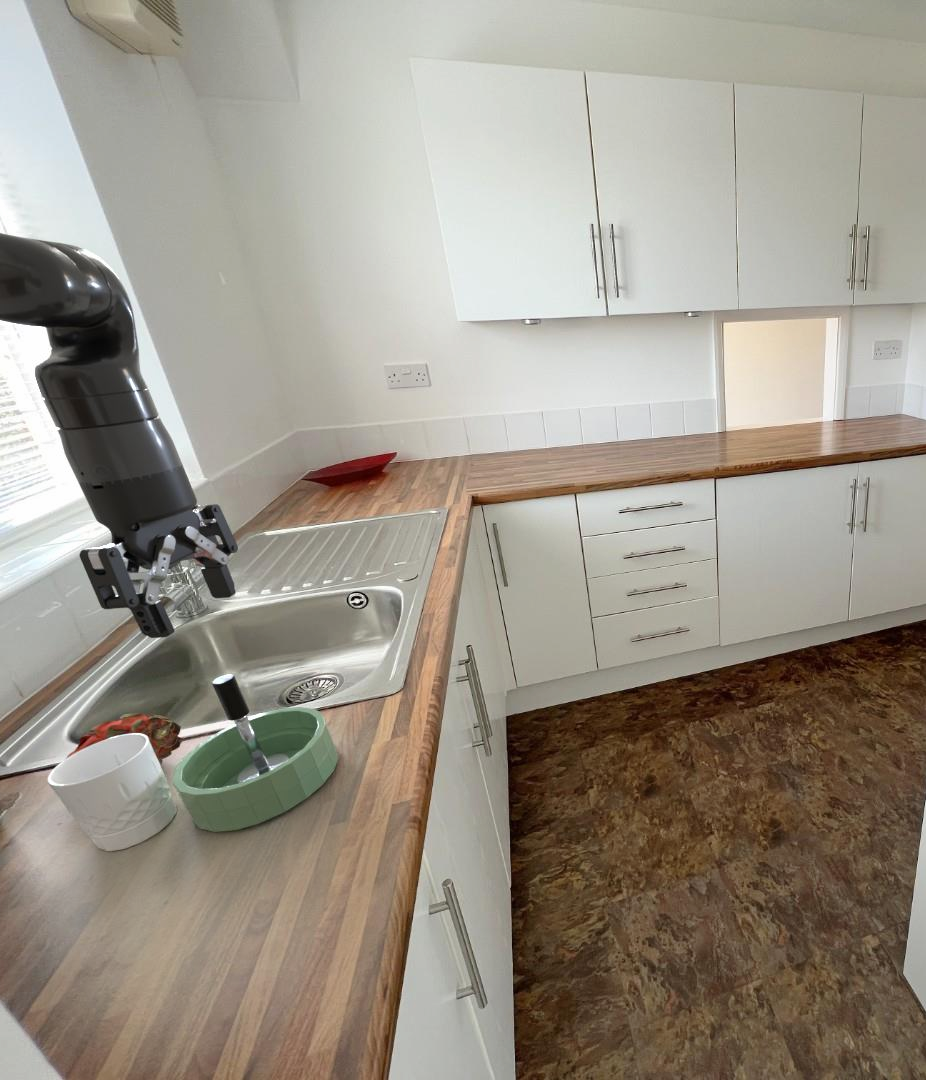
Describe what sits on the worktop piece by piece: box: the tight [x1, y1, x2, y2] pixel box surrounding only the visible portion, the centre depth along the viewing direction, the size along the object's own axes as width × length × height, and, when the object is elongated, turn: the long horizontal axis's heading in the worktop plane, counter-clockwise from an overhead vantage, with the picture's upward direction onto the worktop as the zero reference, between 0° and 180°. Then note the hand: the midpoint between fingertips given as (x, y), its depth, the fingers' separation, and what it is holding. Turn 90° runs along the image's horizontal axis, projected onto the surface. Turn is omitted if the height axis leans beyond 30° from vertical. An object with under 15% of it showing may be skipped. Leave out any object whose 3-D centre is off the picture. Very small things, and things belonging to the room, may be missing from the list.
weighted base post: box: [211, 673, 289, 783], centre depth 68 cm, size 5×5×15 cm
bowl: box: [172, 706, 339, 833], centre depth 70 cm, size 15×15×6 cm
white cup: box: [46, 733, 178, 852], centre depth 65 cm, size 8×8×10 cm
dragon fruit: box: [63, 713, 184, 765], centre depth 74 cm, size 8×8×12 cm
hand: (195, 615), depth 63 cm, fingers open, 8 cm apart
